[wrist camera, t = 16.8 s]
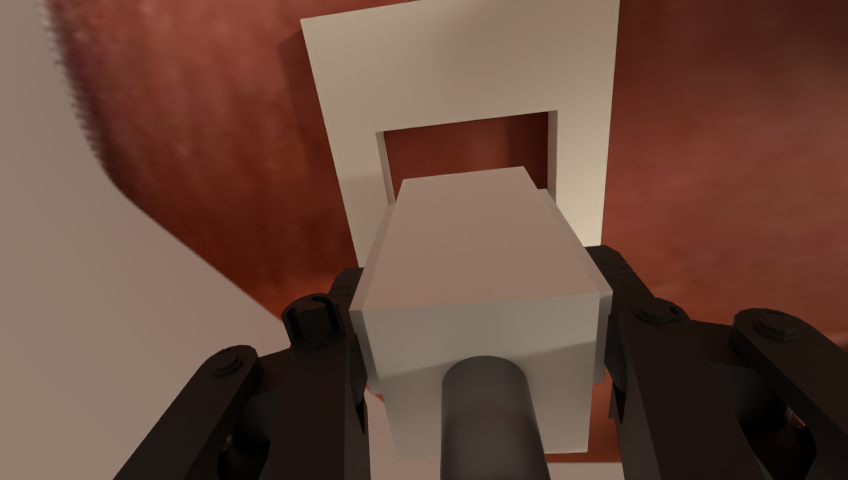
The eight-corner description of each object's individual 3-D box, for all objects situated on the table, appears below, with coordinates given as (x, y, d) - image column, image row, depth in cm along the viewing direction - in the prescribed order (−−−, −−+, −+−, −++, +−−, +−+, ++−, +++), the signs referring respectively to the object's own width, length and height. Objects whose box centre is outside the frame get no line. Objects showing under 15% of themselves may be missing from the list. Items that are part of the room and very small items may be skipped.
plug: (403, 179, 15) (328, 418, 5) (523, 166, 14) (666, 402, 5) (419, 278, 17) (384, 580, 7) (525, 270, 16) (630, 580, 7)
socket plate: (314, 20, 18) (300, 19, 17) (604, -25, 17) (622, -33, 15) (385, 336, 27) (380, 357, 25) (582, 324, 25) (592, 345, 24)
